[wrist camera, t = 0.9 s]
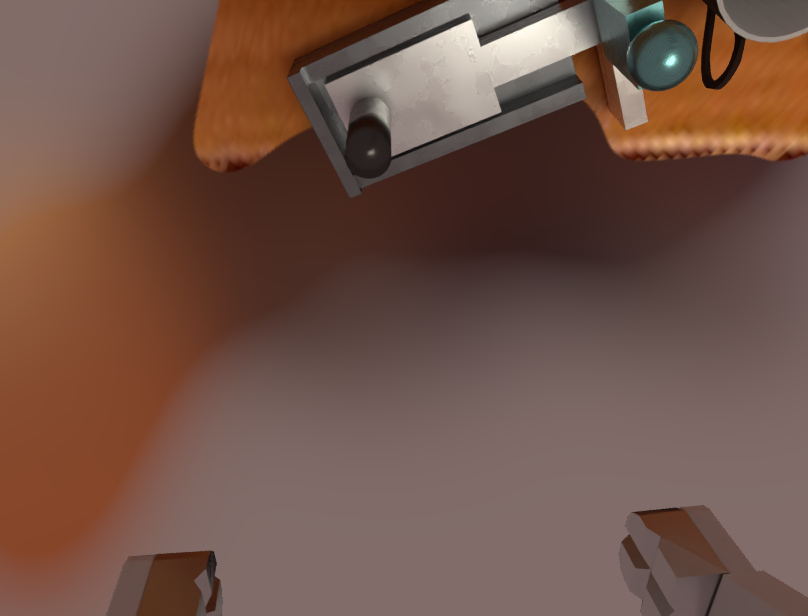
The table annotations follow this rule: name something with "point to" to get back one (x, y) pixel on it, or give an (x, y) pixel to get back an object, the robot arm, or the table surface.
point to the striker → (501, 73)
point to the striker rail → (486, 4)
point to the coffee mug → (751, 28)
